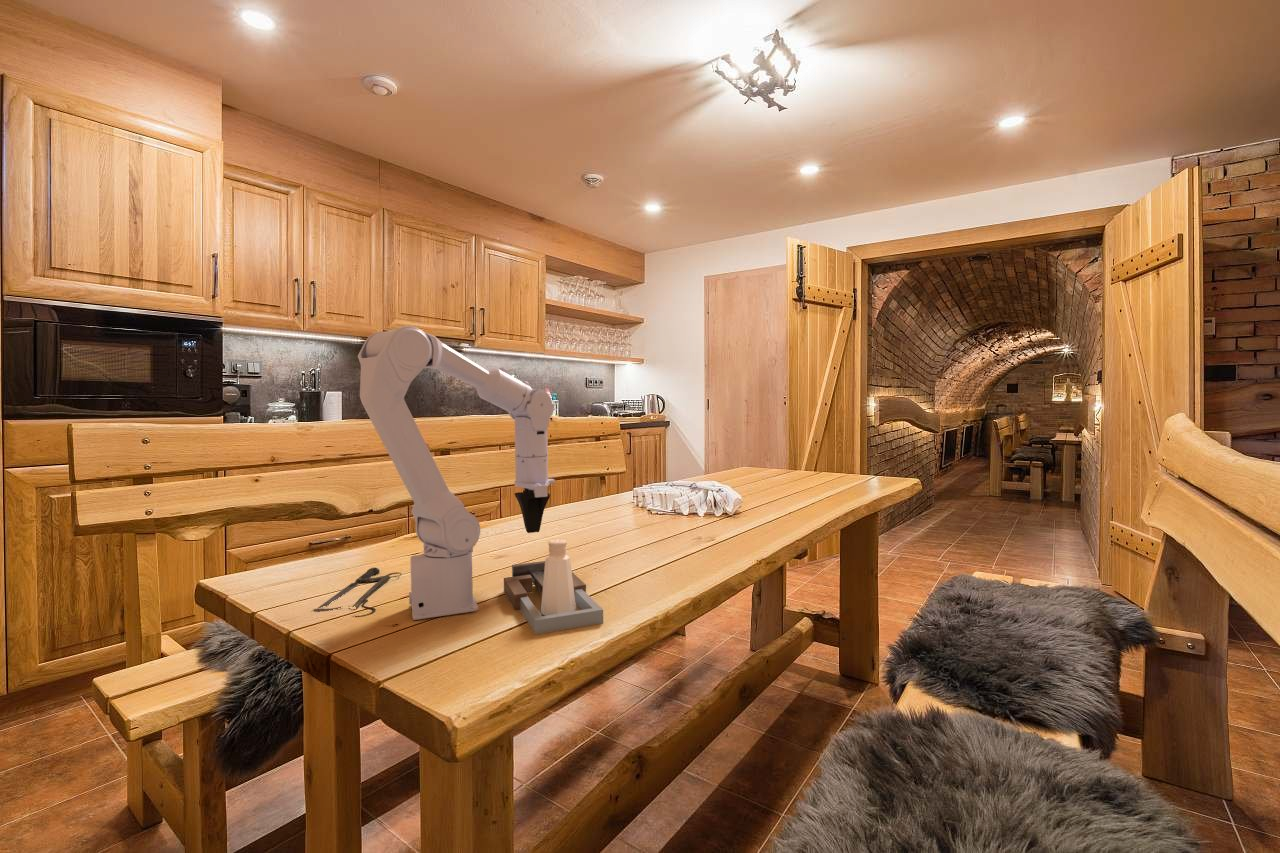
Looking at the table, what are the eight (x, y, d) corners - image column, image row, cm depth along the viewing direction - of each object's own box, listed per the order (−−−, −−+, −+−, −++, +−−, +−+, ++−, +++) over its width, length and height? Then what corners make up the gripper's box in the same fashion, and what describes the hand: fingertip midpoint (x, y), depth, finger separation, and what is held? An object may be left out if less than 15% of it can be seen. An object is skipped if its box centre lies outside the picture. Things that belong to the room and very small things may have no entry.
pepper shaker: (539, 618, 85) (538, 545, 85) (542, 606, 91) (540, 537, 90) (576, 617, 86) (574, 544, 85) (576, 604, 91) (575, 536, 91)
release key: (529, 606, 87) (529, 588, 87) (512, 580, 100) (511, 564, 100) (579, 598, 90) (579, 581, 90) (556, 574, 103) (556, 559, 103)
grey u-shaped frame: (535, 634, 79) (535, 620, 79) (520, 610, 89) (520, 597, 89) (603, 623, 83) (603, 609, 83) (581, 600, 93) (581, 588, 93)
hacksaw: (370, 573, 111) (370, 566, 111) (424, 572, 111) (424, 565, 111) (300, 620, 87) (300, 610, 87) (369, 619, 87) (369, 609, 87)
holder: (514, 610, 89) (514, 594, 89) (504, 592, 98) (503, 577, 98) (586, 599, 93) (586, 584, 93) (569, 583, 102) (569, 569, 102)
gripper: (564, 458, 97) (565, 537, 97) (543, 452, 110) (545, 522, 111) (522, 460, 94) (524, 542, 94) (506, 453, 107) (508, 525, 108)
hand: (532, 531), depth 102 cm, fingers closed
